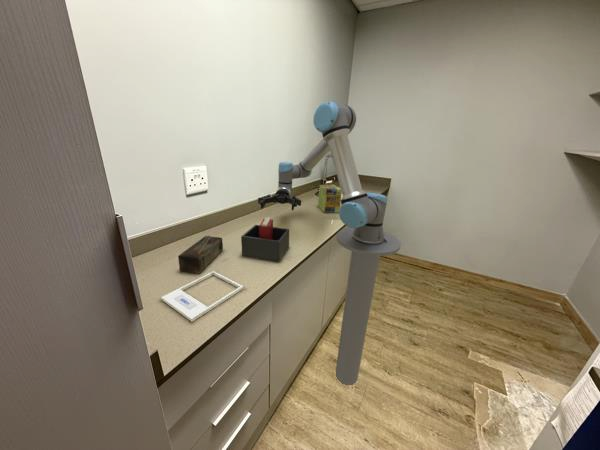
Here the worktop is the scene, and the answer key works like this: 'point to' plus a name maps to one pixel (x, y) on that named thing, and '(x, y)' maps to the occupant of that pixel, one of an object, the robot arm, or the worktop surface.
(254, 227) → the bin
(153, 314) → the worktop surface
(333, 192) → the protein box
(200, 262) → the dark brown wooden block
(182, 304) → the photo frame
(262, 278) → the worktop surface
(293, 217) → the worktop surface
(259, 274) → the worktop surface
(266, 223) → the block
